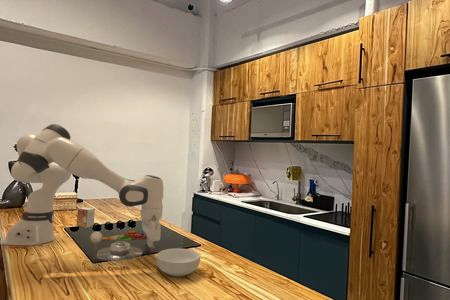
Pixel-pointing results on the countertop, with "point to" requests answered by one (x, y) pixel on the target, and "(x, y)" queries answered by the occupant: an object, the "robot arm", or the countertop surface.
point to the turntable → (134, 253)
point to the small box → (85, 217)
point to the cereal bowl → (178, 261)
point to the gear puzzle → (127, 236)
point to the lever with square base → (95, 243)
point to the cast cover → (120, 248)
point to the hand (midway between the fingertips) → (150, 246)
